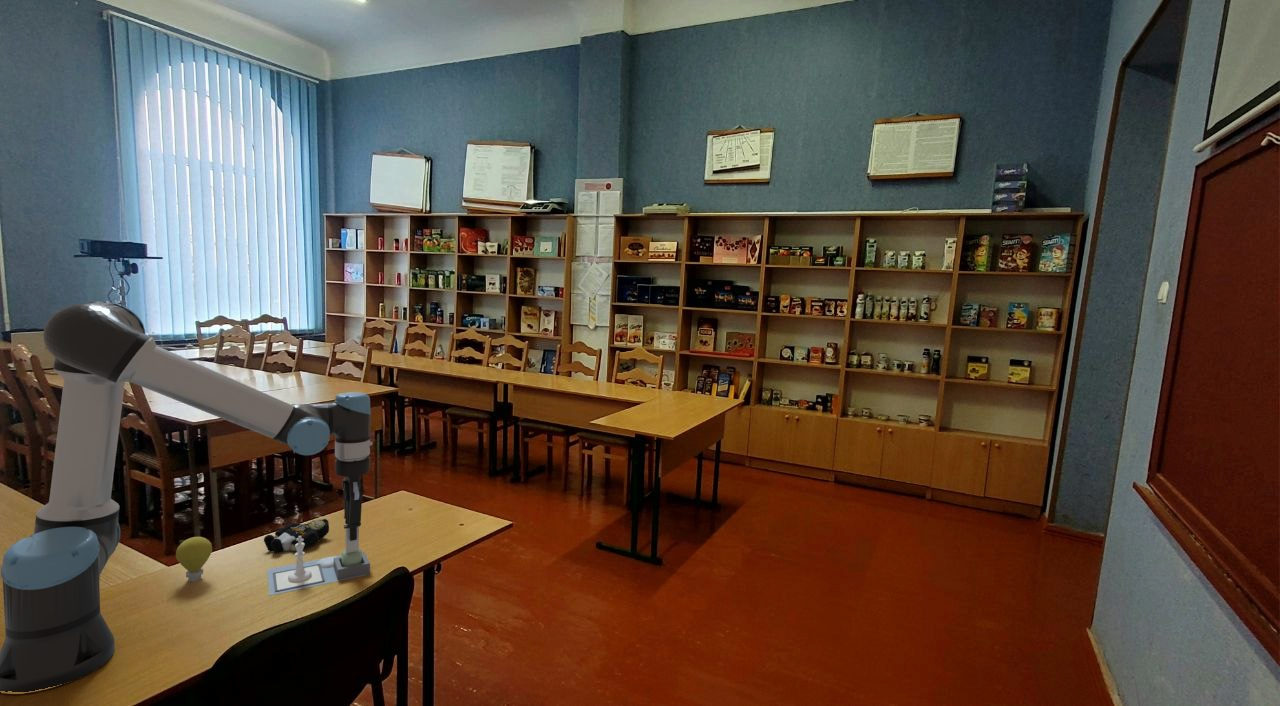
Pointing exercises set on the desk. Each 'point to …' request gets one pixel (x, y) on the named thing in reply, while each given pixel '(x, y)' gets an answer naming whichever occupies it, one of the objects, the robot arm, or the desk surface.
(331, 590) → the desk surface
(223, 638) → the desk surface
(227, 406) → the robot arm
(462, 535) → the desk surface
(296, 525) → the toy
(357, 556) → the button
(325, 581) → the board
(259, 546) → the desk surface
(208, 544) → the light bulb
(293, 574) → the chess piece
